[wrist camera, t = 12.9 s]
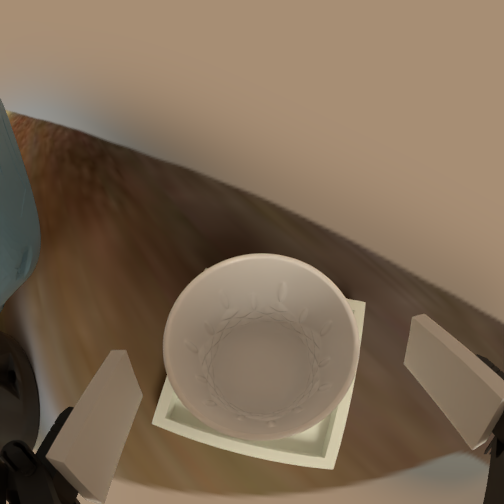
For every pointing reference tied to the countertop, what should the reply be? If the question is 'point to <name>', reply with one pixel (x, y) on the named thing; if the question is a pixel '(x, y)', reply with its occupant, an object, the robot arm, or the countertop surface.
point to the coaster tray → (280, 450)
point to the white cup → (261, 346)
